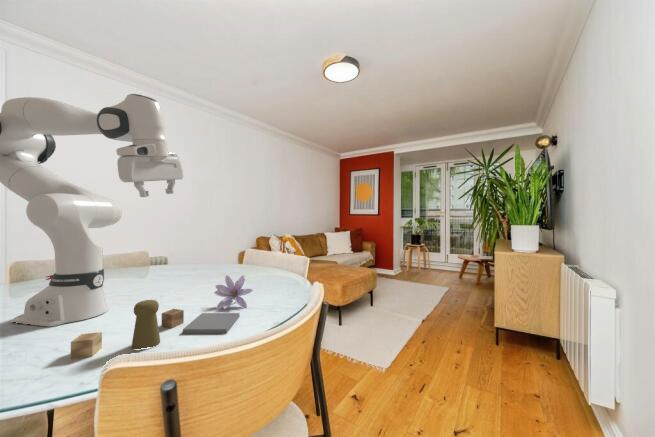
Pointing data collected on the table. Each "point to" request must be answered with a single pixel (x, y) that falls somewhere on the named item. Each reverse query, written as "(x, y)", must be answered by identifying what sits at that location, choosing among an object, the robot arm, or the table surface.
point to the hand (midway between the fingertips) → (157, 195)
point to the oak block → (86, 345)
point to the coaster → (212, 323)
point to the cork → (146, 325)
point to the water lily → (232, 293)
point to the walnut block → (172, 318)
